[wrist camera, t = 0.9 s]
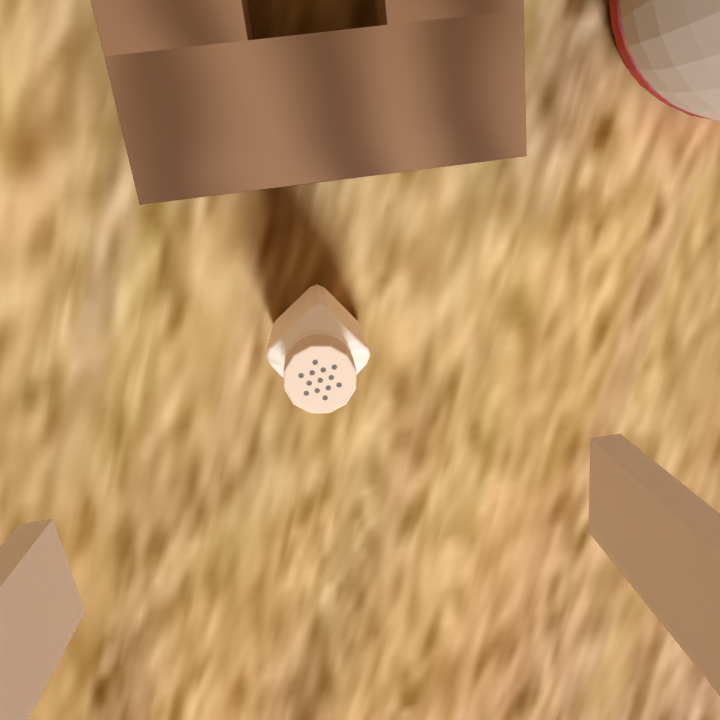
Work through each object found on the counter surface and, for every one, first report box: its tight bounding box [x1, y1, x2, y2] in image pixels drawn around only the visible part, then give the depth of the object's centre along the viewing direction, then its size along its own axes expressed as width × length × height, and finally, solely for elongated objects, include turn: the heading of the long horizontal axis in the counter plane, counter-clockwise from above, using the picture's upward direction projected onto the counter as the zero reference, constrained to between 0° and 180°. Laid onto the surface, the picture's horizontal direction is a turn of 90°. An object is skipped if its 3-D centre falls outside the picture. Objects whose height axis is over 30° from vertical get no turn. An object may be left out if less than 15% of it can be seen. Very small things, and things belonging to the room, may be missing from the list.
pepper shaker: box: [266, 284, 370, 413], centre depth 28 cm, size 4×4×10 cm
